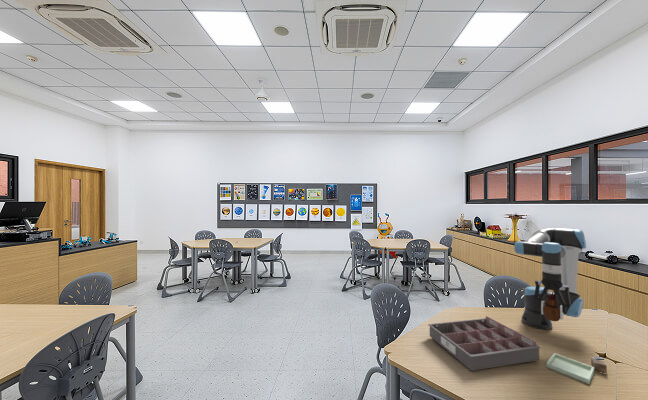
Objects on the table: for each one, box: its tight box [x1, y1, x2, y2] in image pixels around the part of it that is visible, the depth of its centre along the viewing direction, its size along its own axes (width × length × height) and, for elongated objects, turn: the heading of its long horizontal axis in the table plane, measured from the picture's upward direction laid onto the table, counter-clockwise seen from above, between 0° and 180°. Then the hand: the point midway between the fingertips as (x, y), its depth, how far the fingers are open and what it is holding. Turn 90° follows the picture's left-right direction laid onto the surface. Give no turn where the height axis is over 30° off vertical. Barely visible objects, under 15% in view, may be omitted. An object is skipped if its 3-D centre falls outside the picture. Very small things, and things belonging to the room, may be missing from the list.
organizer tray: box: [427, 315, 542, 371], centre depth 134 cm, size 32×40×10 cm
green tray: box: [545, 352, 595, 385], centre depth 117 cm, size 14×14×2 cm
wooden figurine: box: [544, 291, 561, 322], centre depth 133 cm, size 7×6×15 cm
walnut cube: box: [590, 358, 608, 375], centre depth 117 cm, size 4×4×4 cm
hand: (552, 316), depth 133 cm, fingers closed on wooden figurine, 7 cm apart
